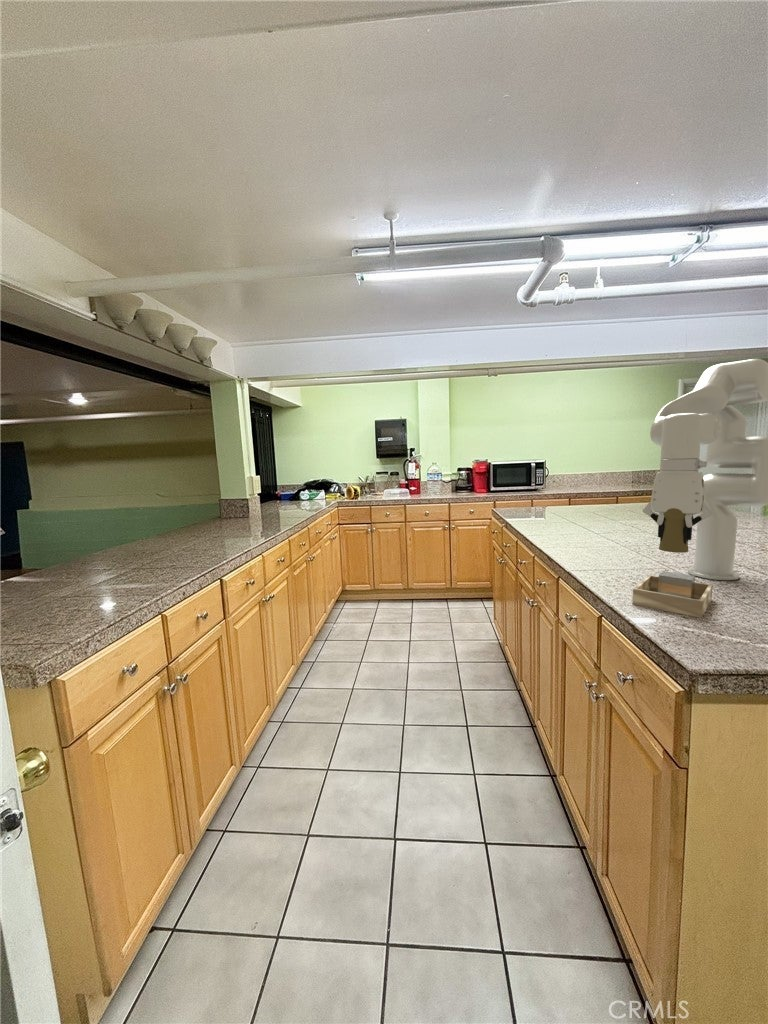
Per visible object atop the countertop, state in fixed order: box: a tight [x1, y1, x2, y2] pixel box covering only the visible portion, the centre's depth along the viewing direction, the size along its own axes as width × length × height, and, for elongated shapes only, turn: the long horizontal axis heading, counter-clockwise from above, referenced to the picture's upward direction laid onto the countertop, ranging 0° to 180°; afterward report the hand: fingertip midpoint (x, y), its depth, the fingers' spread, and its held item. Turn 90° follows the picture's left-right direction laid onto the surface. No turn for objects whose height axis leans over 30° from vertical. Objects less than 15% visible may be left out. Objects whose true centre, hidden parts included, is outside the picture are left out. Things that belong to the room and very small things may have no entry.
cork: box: [658, 508, 689, 554], centre depth 100 cm, size 6×6×11 cm
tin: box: [658, 570, 696, 599], centre depth 107 cm, size 5×7×6 cm
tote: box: [632, 574, 714, 619], centre depth 104 cm, size 16×14×4 cm
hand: (674, 540), depth 100 cm, fingers closed on cork, 3 cm apart
